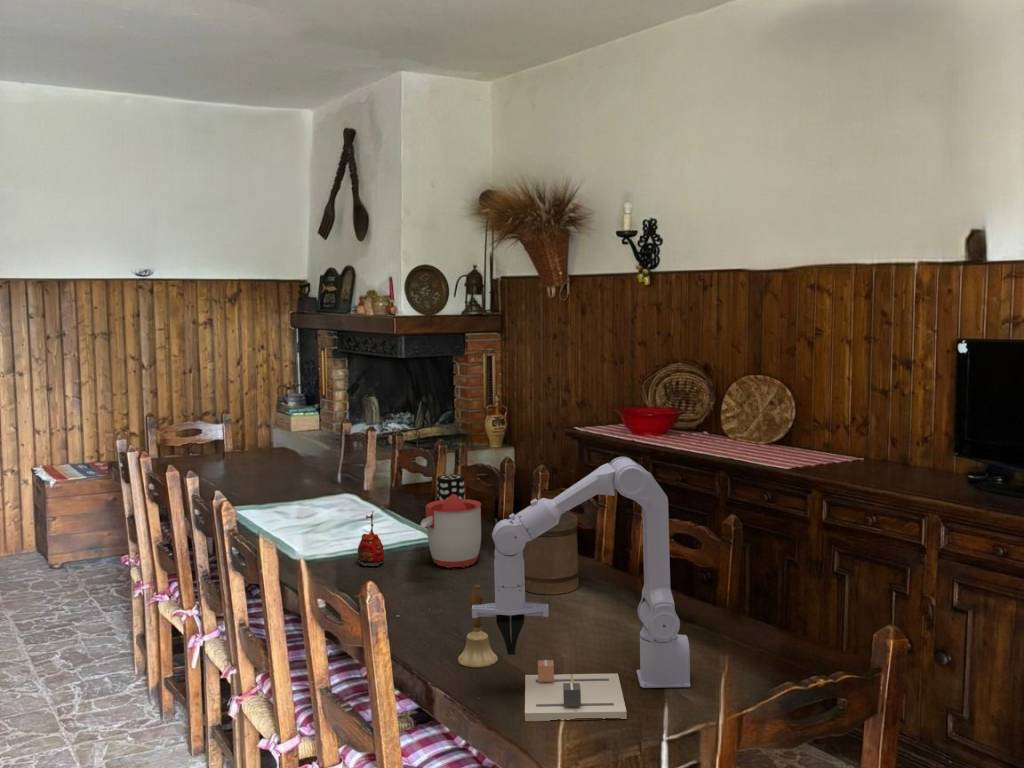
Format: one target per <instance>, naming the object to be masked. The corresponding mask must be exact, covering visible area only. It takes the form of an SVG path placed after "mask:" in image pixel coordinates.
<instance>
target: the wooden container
mask: <svg viewBox="0 0 1024 768" xmlns="http://www.w3.org/2000/svg"><path fill="white" fill-rule="evenodd" d="M523 559H524V578H525V592H527V593H530V594H531V593H532V594H535V595H536V594H537V595H546V596H547V595H549V596H552V595H553V596H554V595H555V596H556V595H564V594H568V593H571V592H574V591H576V590H577V589H578V588H579V587H580V586H579V578H580V577H579V576H580V575H579V550H578V517H577V515H576V514H573V513H570V512H568V511H566V512H564V513H563V514H561V516H560V519H559V523H558V524H557V525H555V526H554V527H552V528H551V529H549V530H547V531H546V532H544V533H543V534H541V535H539V536H538V537H536V538H534V539H533V540H531V541H527V542H526V544H525V547H524V549H523Z"/></svg>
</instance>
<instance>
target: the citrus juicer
mask: <svg viewBox="0 0 1024 768" xmlns="http://www.w3.org/2000/svg"><path fill="white" fill-rule="evenodd" d="M481 507H482V503H481V502H480V501H479V500H475V499H466V498H465V499H459V498H458V497H457V496H456V495H455V494H452V495H451V496H450V497H449V498H448V499H446V500H439V501H438V500H435V501H431V502H428V503H427V504H426V505H425V518H423V519H422V520H421V522H420V527H421V528H423V529H425V528H427V541H428V546H429V550H430V554H431V559H432V561H433V563H434V564H435V563H436V564H438V565H440V566H446V567H462V568H466V567H465V566H467V567H470V566H469V565H472V564H473V565H475V564H476V563H475V562H477V560H478V557H479V553H480V549H481V544H482V543H481V542H482V513H481V512H482V509H481ZM474 563H475V564H474ZM473 565H472V566H473Z"/></svg>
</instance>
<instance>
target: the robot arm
mask: <svg viewBox="0 0 1024 768" xmlns="http://www.w3.org/2000/svg"><path fill="white" fill-rule="evenodd" d="M615 490H616V491H617V492H618V493H619V494H620V495H621V496H623V497H624V498H627V499H629V500H633V501H635V502H636V503H637V504H638V505H640V506H641V516H642V517H641V518H642V524H641V525H642V552H643V553H642V554H643V582H644V583H643V587H642V590H641V598H640V599H641V600H640V602H639V604H638V606H637V616H638V618H639V620H640V621H641V623H642V624H643V625H642V627H641V630H640V631H639V659H640V661H639V663H640V664H639V665H640V668H639V669H636V675H637V679H638V683H639V686H640V688H641V687H642V689H653V688H654V689H655V688H691V661H690V660H691V659H690V657H691V655H690V654H691V653H690V642H689V638H688V636H687V634H678V633H679V631H680V628H681V621H680V618H679V617H678V614H677V613H676V610H675V609H676V608H675V605H676V604H675V601H674V596H673V594H672V590H671V589H672V588H671V566H670V565H671V562H670V558H671V557H670V555H671V554H670V526H669V525H670V523H669V520H670V519H669V499H668V496H667V494H666V493H665V492H664V490H663V489H662V488H661V485H660V484H659V483H658V482H657V481H656V479H655V477H654V475H653V474H652V473H651V472H649V471H647V470H646V469H645V468H644V467H643V466H642V465H641V464H639V463H638V462H636V461H635V460H633V459H631V458H630V457H627V456H619V457H616V458H614V459H612V460H611V461H610V462H607V463H605V464H602V465H600V466H599V467H597V468H596V469H595V470H593V471H592V472H590V473H589V474H588V475H586V476H585V477H583V478H581V479H580V480H579V481H577V482H576V483H574V484H572V485H571V486H570V487H568V488H567V489H566V490H564V491H563V492H561V493H559V494H558V495H557V496H555V497H554V498H553V499H552V498H551V499H550V498H546V497H542V498H540V499H538V500H537V498H534V499H532V500H530V504H529V506H527V507H525V508H524V509H522V510H520V511H519V512H517V513H516V514H515V513H511V514H509V518H508V519H507V518H505V519H501V520H499V521H498V522H497V523H496V524H495V525H494V527H493V530H492V532H491V537H492V540H493V542H494V543H493V544H494V554H493V555H494V559H493V560H494V561H493V571H494V572H493V573H494V575H493V576H494V578H493V579H494V602H491V603H483V604H481V605H472V608H471V618H472V619H474V618H478V617H481V618H483V617H485V618H486V617H488V618H489V617H492V618H493V617H496V618H495V619H496V621H495V622H496V625H497V628H498V629H499V632H500V633H501V636H502V638H503V640H504V644H505V648H506V651H507V652H506V653H507V655H508V656H509V655H510V656H511V655H516V646H517V642H518V638H519V636H520V633H521V631H522V628H523V626H524V624H525V617H533V616H534V617H540V616H541V617H543V618H549V604H548V603H536V602H529V601H528V602H526V590H525V578H524V559H523V549H524V547H525V544H526V542H527V541H531V540H533V539H534V538H536V537H538V536H539V535H541V534H543V533H544V532H546V531H547V530H549V529H551V528H552V527H554V526H555V525H557V524H558V523H559V519H560V516H561V514H563V513H564V512H568V511H570V510H571V509H573V508H575V507H577V506H579V505H581V504H583V503H584V502H586V501H588V500H591V498H593V497H595V496H597V495H601V496H602V495H603V496H614V497H615V495H616V494H615Z"/></svg>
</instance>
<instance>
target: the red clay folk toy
mask: <svg viewBox="0 0 1024 768" xmlns="http://www.w3.org/2000/svg"><path fill="white" fill-rule="evenodd" d="M365 519H366V520H368V519H370V521H371V524H370V527H371V528H370V531H369V533H363V534H362V535H361V539H360V541H359V544H358V549H357V554H358V557H357V559H358V561H359V560H360V562H363V563H380V562H382V561H383V562H384V561H385V550H384V546H383V543H382V540H381V538H380V537H379V535H378V534H375V533H374V530H373V527H374V522H373V521H374V510H372V511H371V514H370V516H369V515H365Z"/></svg>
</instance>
